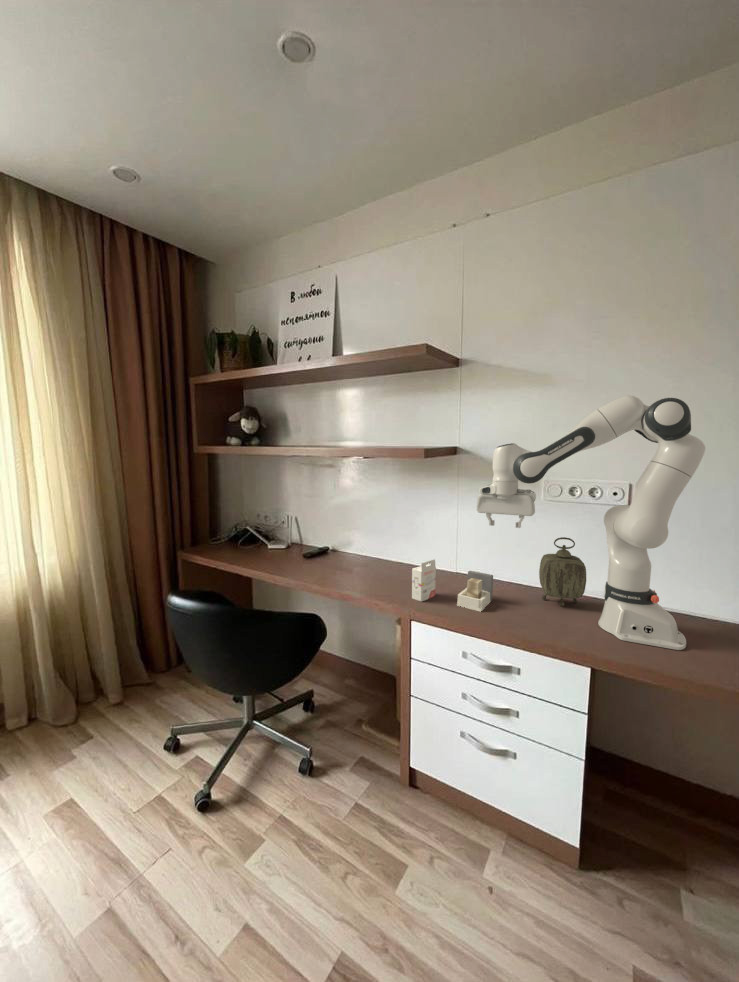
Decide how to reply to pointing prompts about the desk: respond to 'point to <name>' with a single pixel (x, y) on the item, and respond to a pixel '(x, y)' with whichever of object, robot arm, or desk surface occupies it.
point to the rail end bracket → (474, 588)
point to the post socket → (485, 596)
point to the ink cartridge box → (424, 581)
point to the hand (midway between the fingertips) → (504, 526)
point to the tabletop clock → (562, 574)
